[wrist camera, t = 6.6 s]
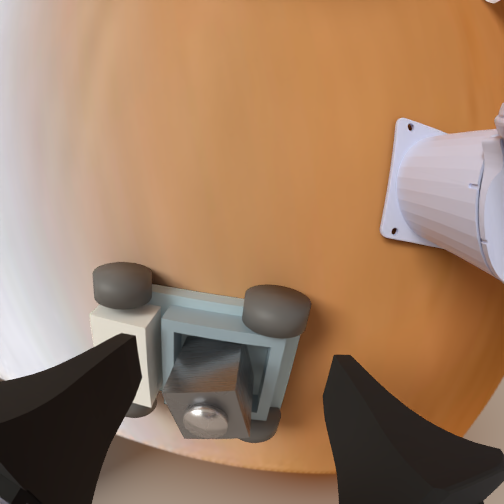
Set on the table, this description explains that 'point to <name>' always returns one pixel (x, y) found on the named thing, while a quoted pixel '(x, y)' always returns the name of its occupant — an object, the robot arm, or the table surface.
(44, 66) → the table surface
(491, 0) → the beverage cup
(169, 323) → the chassis
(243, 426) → the grey block with knob
